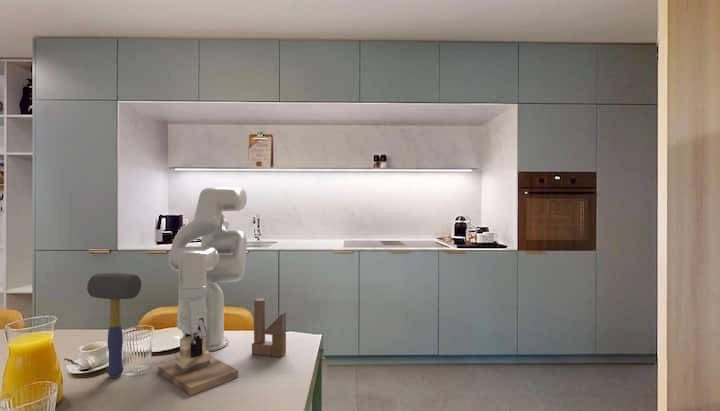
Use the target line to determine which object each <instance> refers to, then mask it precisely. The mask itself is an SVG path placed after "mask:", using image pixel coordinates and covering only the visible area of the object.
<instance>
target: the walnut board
mask: <svg viewBox="0 0 720 411" xmlns="http://www.w3.org/2000/svg"><path fill="white" fill-rule="evenodd" d="M157 371H158V374H159V375H161V377H164V378H165V379H166V380H168V381H169V382H170V383H172V384H174V385H175V386H176V387H178V388H179V389H180V390H182V391H184V392H185V393H187V394H188V395H189V396H193V395H195V394H198V393H201V392H203V391H206V390H208V389H212V388H213V387H214V388H215V387H216V386H219V385H221V384H223V383H226V382H230V381H231V380H234V379H237V378H239V370H238V369H236V368H235V367H232V366H231V365H229V364H227V363H225V362H223V361H221V360H219V359H218V358H216V357H214V356H212V355H210V364H209V365H206V366H203V367H200V368H197V369H194V370H191V371H188V372H185V373H182V372H181V371H179V370H178V369H176V368H175V360H174V361H171V362H167V363H164V364H160V365H158V367H157Z"/></svg>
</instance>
